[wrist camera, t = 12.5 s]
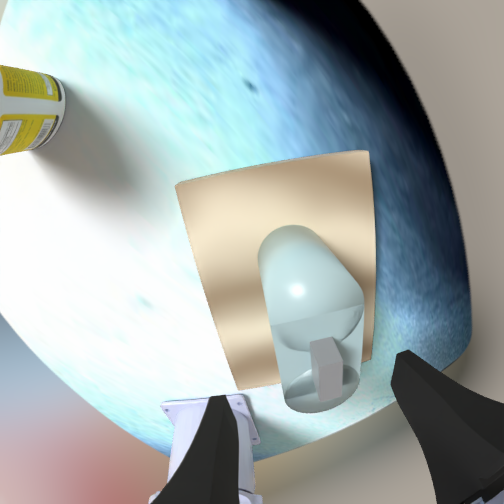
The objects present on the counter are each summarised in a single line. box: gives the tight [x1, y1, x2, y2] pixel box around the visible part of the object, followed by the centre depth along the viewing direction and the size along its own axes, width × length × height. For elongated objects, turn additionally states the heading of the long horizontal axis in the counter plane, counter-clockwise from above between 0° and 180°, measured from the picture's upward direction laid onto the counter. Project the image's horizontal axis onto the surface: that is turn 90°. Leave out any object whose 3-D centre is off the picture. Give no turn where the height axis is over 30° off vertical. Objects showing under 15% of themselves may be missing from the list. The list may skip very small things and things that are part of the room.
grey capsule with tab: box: [258, 225, 364, 413], centre depth 14 cm, size 9×4×8 cm, turn 11°
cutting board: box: [175, 150, 376, 390], centre depth 18 cm, size 16×11×2 cm
